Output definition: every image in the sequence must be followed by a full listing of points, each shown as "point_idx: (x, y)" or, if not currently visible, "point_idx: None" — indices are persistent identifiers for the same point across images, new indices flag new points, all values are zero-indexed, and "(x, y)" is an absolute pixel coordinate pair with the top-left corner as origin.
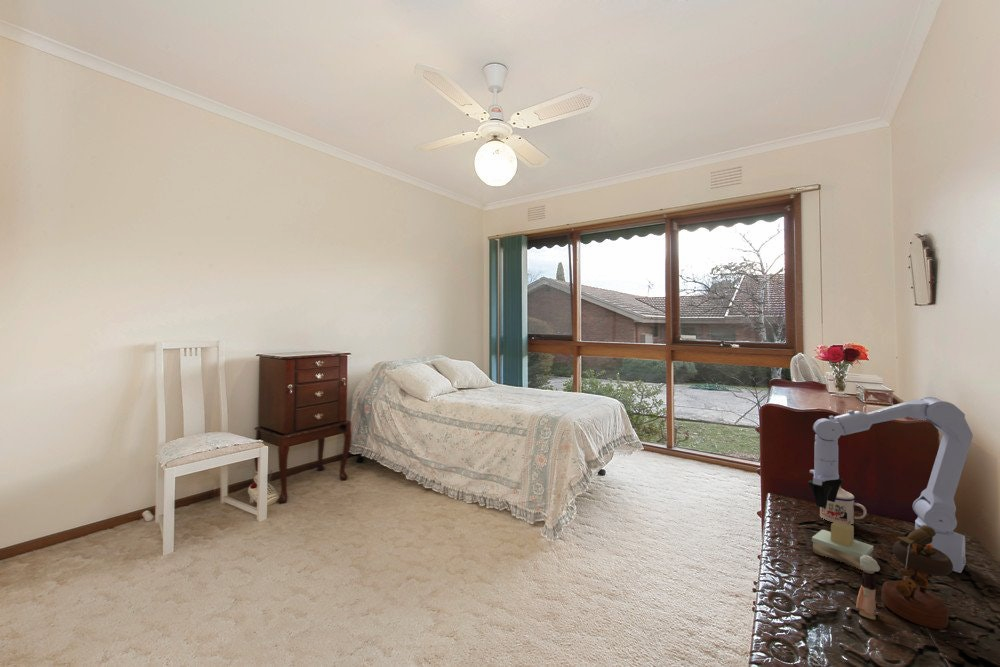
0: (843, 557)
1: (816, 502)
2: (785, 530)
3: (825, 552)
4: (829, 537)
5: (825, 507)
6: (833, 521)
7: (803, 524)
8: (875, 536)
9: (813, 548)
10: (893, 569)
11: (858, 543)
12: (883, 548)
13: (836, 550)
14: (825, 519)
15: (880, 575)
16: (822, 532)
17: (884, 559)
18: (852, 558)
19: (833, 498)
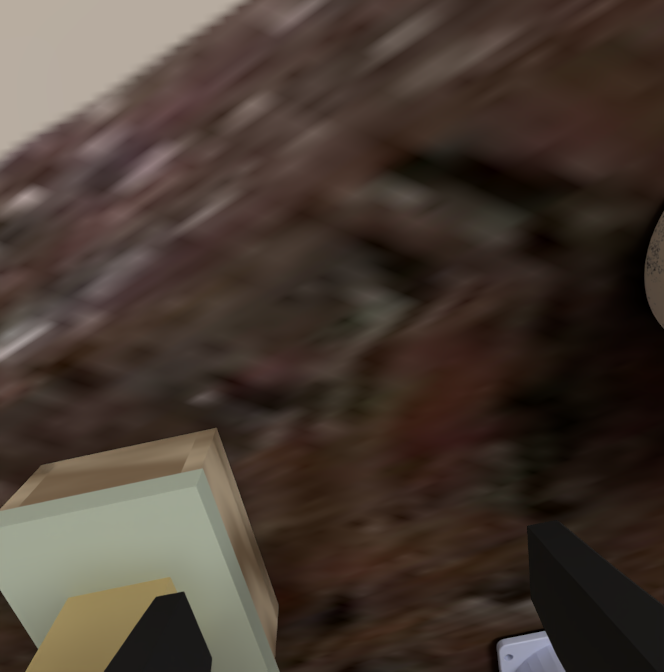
0: None
1: (126, 649)
2: (152, 196)
3: None
4: (106, 573)
5: (205, 664)
6: (654, 284)
7: (417, 186)
8: (643, 478)
9: (26, 485)
10: (289, 661)
11: (218, 662)
12: (497, 559)
13: None
14: (660, 225)
15: None
16: (139, 514)
17: (360, 612)
18: None
19: (558, 646)
